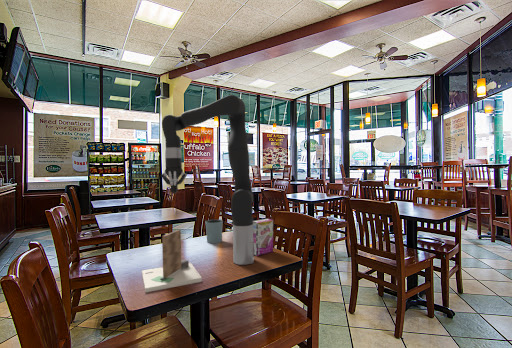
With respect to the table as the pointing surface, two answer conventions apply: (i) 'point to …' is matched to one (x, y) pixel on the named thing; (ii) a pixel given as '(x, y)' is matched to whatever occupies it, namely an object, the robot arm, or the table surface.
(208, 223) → the grey-blue bumpy cylinder
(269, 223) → the candy bar box
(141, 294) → the table surface
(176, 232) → the brown flat streaked slab
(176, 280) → the plate
